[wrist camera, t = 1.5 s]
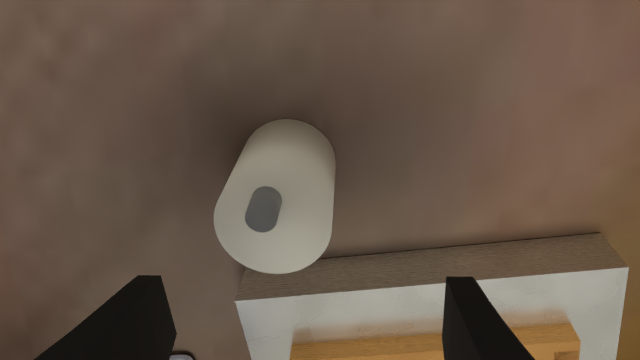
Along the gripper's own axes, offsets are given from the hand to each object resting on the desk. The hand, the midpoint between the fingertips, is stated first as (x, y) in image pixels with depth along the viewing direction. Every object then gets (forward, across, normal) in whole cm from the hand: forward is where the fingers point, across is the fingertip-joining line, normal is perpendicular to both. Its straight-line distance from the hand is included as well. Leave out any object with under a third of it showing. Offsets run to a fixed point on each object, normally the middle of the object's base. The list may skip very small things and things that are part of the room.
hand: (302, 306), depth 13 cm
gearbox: (+9, -4, +12) cm, 16 cm away
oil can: (+9, +2, +1) cm, 9 cm away
